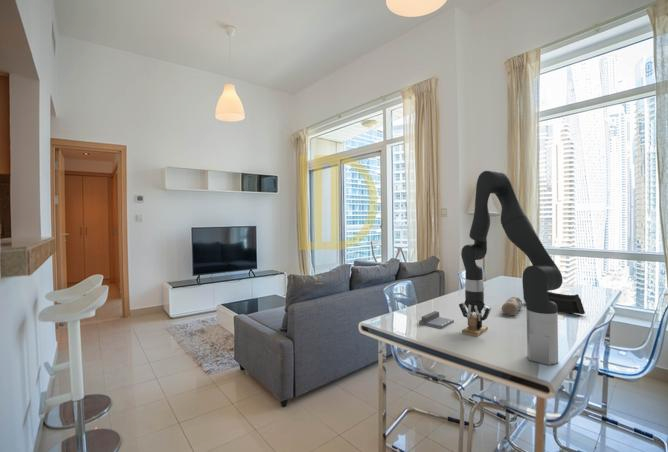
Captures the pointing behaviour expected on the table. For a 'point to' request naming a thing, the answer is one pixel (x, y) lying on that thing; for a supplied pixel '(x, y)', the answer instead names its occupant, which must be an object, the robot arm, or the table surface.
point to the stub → (473, 327)
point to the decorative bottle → (512, 306)
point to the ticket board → (435, 320)
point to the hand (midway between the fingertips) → (474, 327)
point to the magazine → (567, 303)
